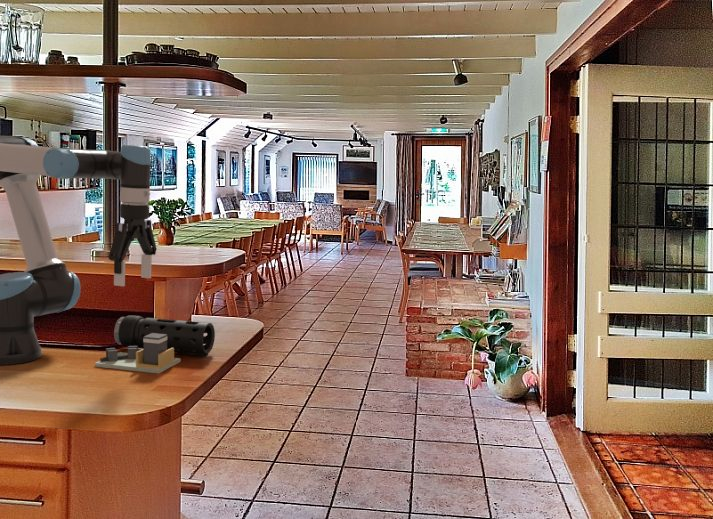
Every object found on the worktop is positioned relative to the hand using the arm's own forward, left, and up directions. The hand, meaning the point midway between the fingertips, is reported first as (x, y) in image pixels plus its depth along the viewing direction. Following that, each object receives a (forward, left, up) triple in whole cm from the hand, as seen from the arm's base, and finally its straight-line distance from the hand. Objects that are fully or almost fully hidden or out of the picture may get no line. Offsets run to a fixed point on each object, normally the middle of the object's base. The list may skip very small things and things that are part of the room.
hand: (133, 281), depth 191 cm
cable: (-3, 0, -22) cm, 22 cm away
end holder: (+7, -1, -23) cm, 24 cm away
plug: (+7, -1, -22) cm, 23 cm away
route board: (+1, +1, -23) cm, 23 cm away
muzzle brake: (+1, +14, -24) cm, 28 cm away
